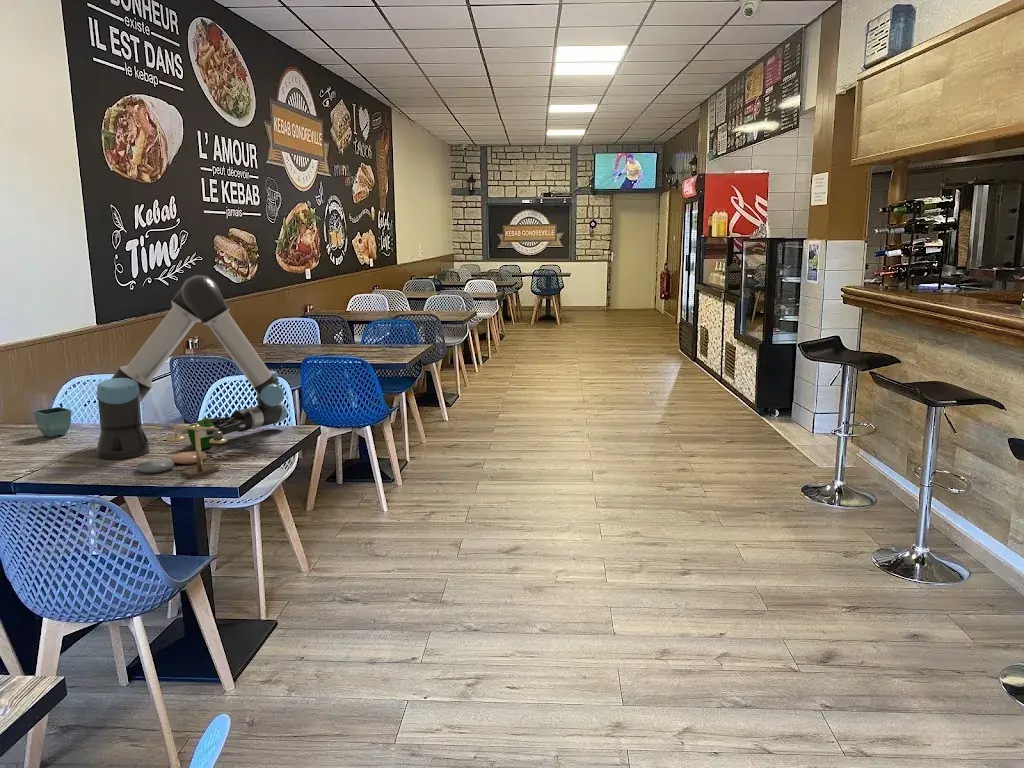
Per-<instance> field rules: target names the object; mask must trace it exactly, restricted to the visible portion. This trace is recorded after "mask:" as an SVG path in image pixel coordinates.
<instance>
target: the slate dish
mask: <svg viewBox="0 0 1024 768" xmlns="http://www.w3.org/2000/svg"><path fill="white" fill-rule="evenodd" d="M174 467H175V463H174V462H173V461H171V459H170V460H169V459H154V460H149V461H148V460H147V461H144V462H140V463H138V464H137V465H136V470H137V472H139V473H144V474H157V473H164V472H165V471H168V470H171V469H173V468H174Z"/></svg>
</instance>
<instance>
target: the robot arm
mask: <svg viewBox="0 0 1024 768" xmlns="http://www.w3.org/2000/svg"><path fill="white" fill-rule="evenodd" d="M201 322H202V324H203V325H205V326H208V327H209V328H210V330H211V331H212V332H213V334H214V335H215V336H216V338H217V339H218V341H219V343H221V345H222V346H223V348H224V349H225V350H226V352H227V353H228V355H229V356H230V358H231V359H232V360H233V362H234V363H235V364H236V366H237V367H238V369H239V370H240V371H241V372H242V374H243V376H244V377H245V378H246V380H247V381H248V383H249V384H250V385H251V387H252V389H253V390H254V391H255V393H256V399H257V400H256V402H257V405H256V406H251V407H246V408H244V409H243V408H242V409H238V410H234V411H233V412H232V413H231V415H230V416H224V417H222V416H216V417H211V418H210V419H209V421H208V420H205V421H204V423H203V424H205V423H213V424H214V426H215V427H214V426H213V427H210V428H218V429H219V430H218V431H222V434H223V436H225V435H228V434H232V433H234V432H237V433H238V432H239V433H242V432H247V431H249V430H253V431H255V430H256V429H257V428H262V427H266V426H271V425H276V424H280V423H282V422H283V421H284V420H286V418H287V416H288V410H287V408H286V404H284V403H283V400H284V398H285V395H284V394H285V393H284V390H283V388H282V387H281V385H280V384H279V376H278V372H277V371H276V370H270V369H269V368H268V367H267V366H266V364H265V363H264V361H263V360H262V359H261V357H260V356H259V353H258V352H257V351H256V350H255V348H254V347H253V346H252V344H251V343H250V341H249V340H248V338H247V337H246V336H245V334H244V332H243V331H242V330H241V329H240V327H239V325H238V324H237V322H236V321H235V319H234V318H233V317H232V316H231V313H230V307H229V305H228V304H227V303H226V301H225V299H224V297H223V295H222V293H221V291H220V287H219V286H218V283H216V281H215V280H213V279H212V278H211V277H209V276H208V275H204V274H203V275H201V274H196V275H192V276H190V277H188V278H187V279H186V280H185V281H184V282H183V284H182V286H181V287H180V289H179V290H178V291H177V293H176V294H175V296H174V297H173V298H172V300H171V308H170V310H169V311H168V313H167V314H166V315H165V316H164V318H163V319H162V320H161V322H160V323H159V324H158V325H157V327H156V328H155V329H154V330H153V332H152V333H151V334H150V336H149V337H148V338H147V340H146V341H145V342H144V344H143V345H142V346H141V347H140V349H139V350H138V351H137V353H136V354H135V356H134V357H133V358H132V359H131V360H130V362H129V363H128V364H127V365H123V366H119V368H118V369H117V370H116V372H115V373H114V374H113V376H112V377H111V378H110V379H106V380H103V381H100V382H99V383H98V385H97V387H96V397H97V401H98V414H99V423H100V434H99V438H98V442H97V446H96V457H97V458H100V459H103V460H123V459H124V460H125V459H130V458H131V459H132V458H135V457H140V456H144V455H146V454H148V453H150V451H151V446H150V445H151V444H150V442H149V440H148V438H147V435H146V433H145V431H144V430H143V429H144V428H143V424H142V413H141V402H142V401H143V399H144V398H145V397H146V396H147V394H148V393H149V392H150V391H151V389H152V388H153V382H152V381H153V379H154V377H155V376H156V374H157V373H158V372H159V371H160V370H161V368H162V366H163V365H164V364H165V363H166V361H168V359H169V357H171V355H172V353H173V352H174V351H175V349H176V348H177V347H178V346H179V344H180V343H181V342H182V341H183V339H184V338H185V336H187V334H188V332H189V331H190V330H191V329H192V327H193V326H194V325H195V323H201ZM201 420H202V419H200V420H194V421H193V424H197V423H199V422H201ZM190 424H191V423H190ZM190 424H185V425H183V426H190ZM178 431H179V432H178V433H179V434H178V435H186V434H188V429H178ZM213 432H216V431H204V430H200V438H204V437H208V436H212V435H213Z"/></svg>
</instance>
